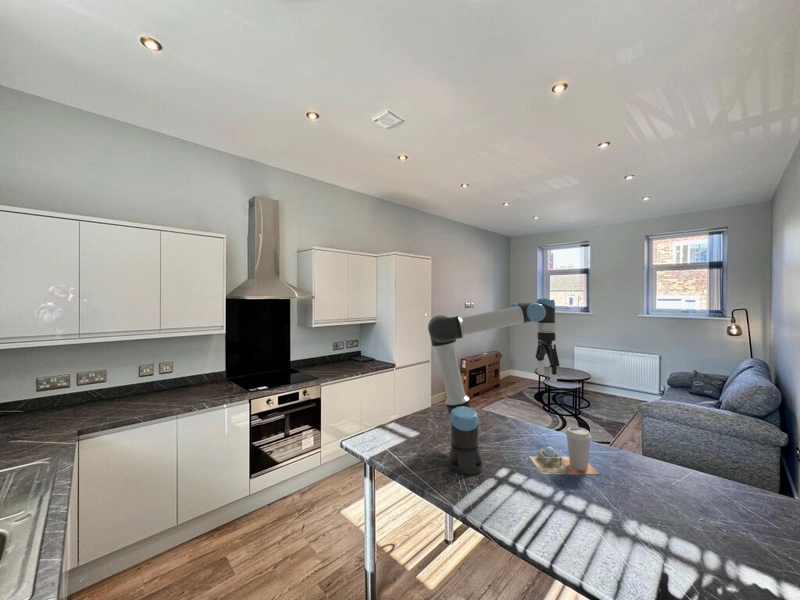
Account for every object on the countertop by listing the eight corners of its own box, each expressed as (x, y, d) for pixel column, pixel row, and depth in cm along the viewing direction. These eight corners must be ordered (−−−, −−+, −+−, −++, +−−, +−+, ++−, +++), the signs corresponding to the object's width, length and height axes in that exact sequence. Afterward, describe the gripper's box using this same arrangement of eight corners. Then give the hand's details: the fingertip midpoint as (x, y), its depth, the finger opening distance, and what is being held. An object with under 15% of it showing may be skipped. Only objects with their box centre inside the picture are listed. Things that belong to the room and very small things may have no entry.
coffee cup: (585, 461, 135) (584, 426, 135) (596, 473, 125) (596, 435, 125) (562, 460, 136) (561, 425, 136) (571, 472, 126) (571, 435, 126)
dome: (546, 460, 133) (546, 449, 133) (542, 455, 138) (542, 444, 138) (557, 460, 133) (557, 449, 133) (552, 455, 138) (552, 444, 138)
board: (541, 475, 126) (541, 465, 126) (528, 458, 140) (528, 449, 140) (600, 476, 125) (600, 466, 125) (581, 458, 139) (581, 449, 139)
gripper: (567, 334, 132) (568, 384, 132) (543, 329, 157) (544, 371, 157) (549, 334, 132) (550, 384, 132) (528, 329, 157) (528, 371, 157)
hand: (546, 377), depth 144 cm, fingers open, 13 cm apart
